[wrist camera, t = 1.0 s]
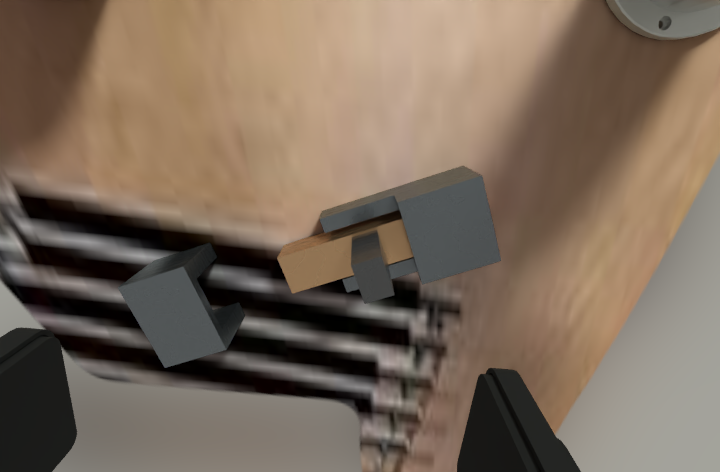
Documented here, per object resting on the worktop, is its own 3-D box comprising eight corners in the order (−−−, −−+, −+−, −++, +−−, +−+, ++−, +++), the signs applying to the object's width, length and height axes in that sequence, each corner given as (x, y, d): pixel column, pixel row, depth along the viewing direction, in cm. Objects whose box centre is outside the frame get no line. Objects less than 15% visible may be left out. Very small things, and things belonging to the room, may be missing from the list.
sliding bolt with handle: (468, 186, 30) (509, 213, 22) (477, 222, 31) (519, 261, 23) (284, 244, 32) (259, 290, 24) (297, 277, 33) (278, 332, 25)
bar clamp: (461, 160, 30) (482, 170, 25) (481, 243, 32) (504, 267, 27) (153, 260, 32) (117, 287, 28) (192, 331, 35) (165, 367, 30)
